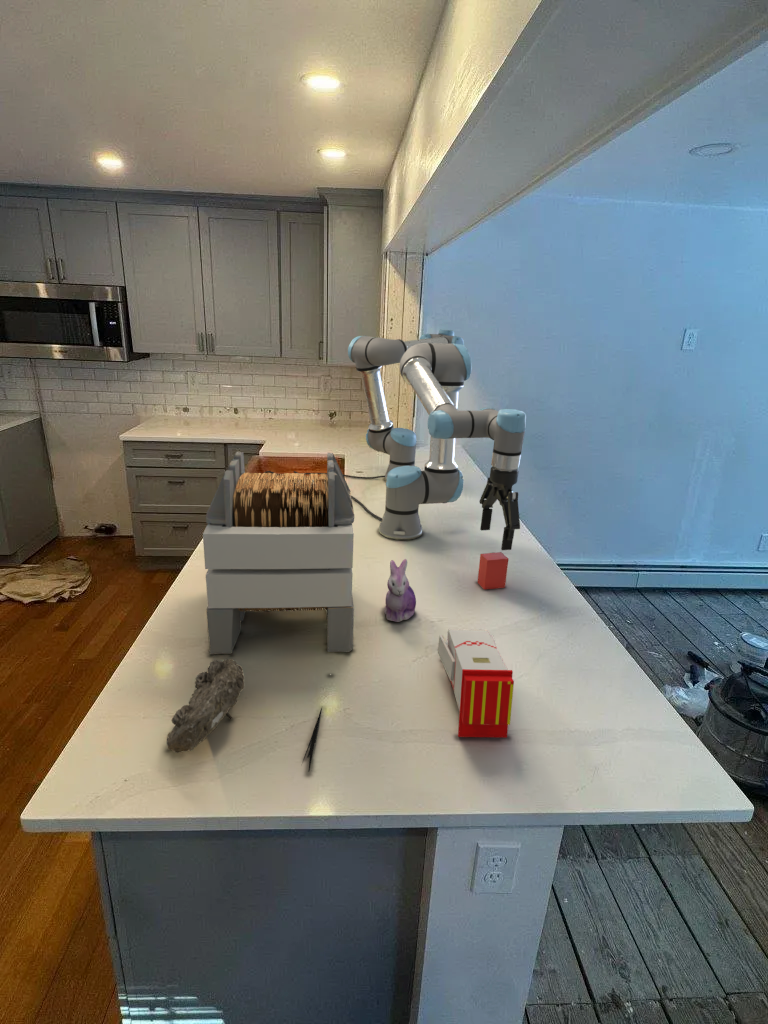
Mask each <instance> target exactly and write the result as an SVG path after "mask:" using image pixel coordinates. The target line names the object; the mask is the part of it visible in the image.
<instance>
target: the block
mask: <svg viewBox="0 0 768 1024" xmlns="http://www.w3.org/2000/svg"><path fill="white" fill-rule="evenodd" d="M509 559H510V558H508V557H507V555H505V554H504V553H503V552H502V551H499V552H485V553H480V554H479V563H478V572H477V573H478V574H477V581H476V583H477V584H478V585H479V586H480V587H481V588H482V589H483V590H485V591H486V590H495V589H496V590H497V589H504V588H506V583H507V575H508V568H509Z"/></svg>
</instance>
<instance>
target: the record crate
mask: <svg viewBox="0 0 768 1024" xmlns="http://www.w3.org/2000/svg"><path fill="white" fill-rule="evenodd" d="M244 455H245V454H244V451H242V452H241V451H236V452H235V454H234V456H233V458H232V459H230V463H229V465H228V467H227V469H226V470H224V473H223V475H222V478H221V479H220V482H219V484H218V487H217V489H216V491H215V494H214V495H213V497H212V500H211V502H210V505H209V507H208V509H207V511H206V515H205V523H206V524H207V525H206V527H205V529H204V531H203V533H202V543H203V558H204V569H205V570H206V573H205V584H206V587H205V588H206V598H207V599H206V601H207V607H206V623H207V634H208V641H209V642H208V643H209V650H208V653H209V655H216V654H217V655H218V654H221V655H222V654H223V655H226V654H227V655H228V654H230V655H231V654H232V653H233V650H234V648H235V647H236V643H237V641H238V638H239V636H240V634H241V630H242V626H241V625H242V623H241V622H243V621H244V618H245V615H246V612H272V611H273V612H279V611H280V612H284V611H286V612H288V611H289V612H291V611H292V612H293V611H294V612H295V611H303V612H304V611H322V610H323V611H326V636H327V637H326V641H327V645H326V646H327V652H329V653H330V652H332V653H333V652H343V653H349V652H351V651H352V650H354V617H355V616H354V614H355V607H354V598H353V575H354V573H353V566H354V563H353V562H354V537H355V536H354V535H355V532H354V527H353V524H354V522H355V511H354V506H353V505H354V504H353V499H352V498H351V496H352V494H351V489H350V487H349V485H348V483H347V480H346V479H345V476H343V475H344V474H343V472H342V470H341V467H340V465H339V463H338V461H337V459H336V457H335V455H334V453H333V452H327V453H326V456H327V457H326V468H327V469H326V473H327V474H309V475H308V474H307V475H306V474H304V473H305V472H298V473H294V472H292V473H291V472H290V473H288V472H283V473H277V472H274V473H264V472H263V473H262V472H259V473H258V472H253V473H252V472H245V468H246V467H245V456H244ZM277 474H278V475H277ZM279 474H280V475H279ZM281 474H282V475H281ZM283 474H284V475H283ZM306 476H307V477H306Z"/></svg>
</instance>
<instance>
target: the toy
mask: <svg viewBox="0 0 768 1024" xmlns="http://www.w3.org/2000/svg"><path fill="white" fill-rule="evenodd" d="M446 640H447V643H446V641H445V639H444V636H443V635H442V634H439V637H438V646H437V656H438V657H439V659H440V661H441V663H442V666H443V668H444V670H445V672H446V674H447V677H448V679H449V681H450V684H451V687H452V690H453V693H454V697H455V701H456V705H457V708H458V711H459V714H458V715H459V716H458V730H457V731H458V732H457V737H458V738H508V731H509V726H510V725H511V717H512V707H513V697H514V696H513V695H514V684H515V680H514V679H513V673H514V671H513V670H512V669H508V667H507V665H506V662H505V661H504V659H503V658H502V655H501V653H500V651H499V649H498V647H497V643H496V639H495V637H494V635H493V634H491V632H490V631H489V629H467V628H466V629H465V628H463V629H461V628H460V629H459V628H448V630H447V639H446Z"/></svg>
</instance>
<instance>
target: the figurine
mask: <svg viewBox="0 0 768 1024" xmlns="http://www.w3.org/2000/svg"><path fill="white" fill-rule="evenodd" d="M407 567H408V559H406V558H404V559H403V560H402V561H401V563H400V565H399V566H398V565H397V563H396V562H395V561H394V560H393V559H391V560H390V561H389V570H390V576H389V578H388V579H387V589H388V591H387V592H386V594H385V595H386V596H385V607H384V615H385V616H386V620H387V621H391V622H395V623H400V622H402V621H406V620H409V619H410V618H411V617H413V616H414V615H415V610H416V606H417V597H416V593H415V591H414V590H413V587H411V586H410V582H409V579H408V577H407V574H406V571H407Z"/></svg>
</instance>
